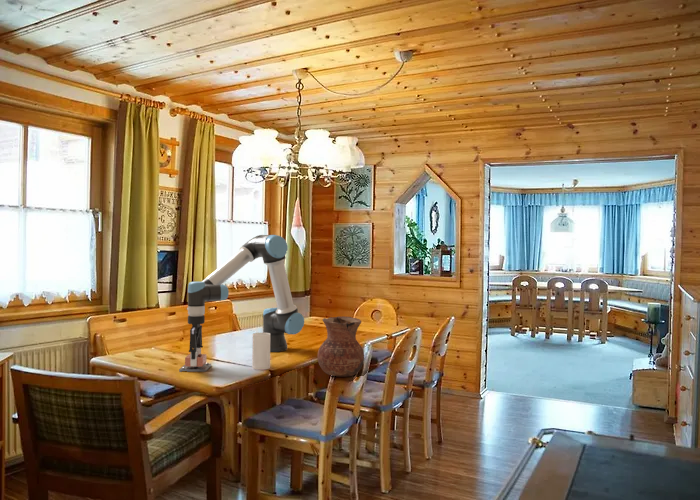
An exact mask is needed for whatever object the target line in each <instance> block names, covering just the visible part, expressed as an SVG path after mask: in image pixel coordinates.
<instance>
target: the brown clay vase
mask: <svg viewBox="0 0 700 500" xmlns="http://www.w3.org/2000/svg"><path fill="white" fill-rule="evenodd" d="M322 322H323V323H324V325H325V328H326V333H327V335H326V336H327V337H326V339H325V340H324V341H323V342H322V344H321V345H320V347H319V348H318V351H317V362H318V365H319V367H320V368H321V370H322V371H323V372H324V373H325V374H326V375H329V376H332V375H333V376H332V377H335V376H336V377H340V378H346V377H348V378H349V377H353V376H355V375H357V374H358V372H359V371H360V370H361V369H362V367H363V364H364V360H365V352H364V349H363V347H362V345H361V344H360V343H359V340H357V337H356V334H357V331H358V329H359V327H360V325H361V324H362V320H361V319H360V318H357V317H351V316H345V315H344V316H336V317H335V316H334V317H328V318H327V317H324V318H323V319H322Z"/></svg>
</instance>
